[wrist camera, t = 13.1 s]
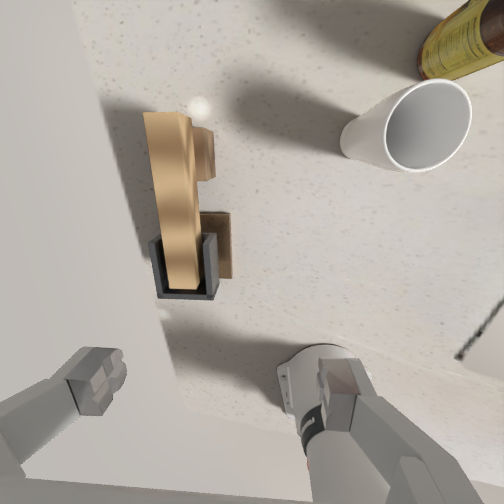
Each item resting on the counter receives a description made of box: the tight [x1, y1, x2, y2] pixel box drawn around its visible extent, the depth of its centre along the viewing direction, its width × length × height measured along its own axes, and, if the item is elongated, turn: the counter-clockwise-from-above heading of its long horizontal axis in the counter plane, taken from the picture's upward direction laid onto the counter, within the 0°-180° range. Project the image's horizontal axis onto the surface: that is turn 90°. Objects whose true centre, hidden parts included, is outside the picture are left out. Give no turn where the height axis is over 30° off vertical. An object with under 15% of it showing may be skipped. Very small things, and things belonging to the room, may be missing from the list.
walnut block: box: [192, 127, 216, 181], centre depth 32 cm, size 6×6×6 cm
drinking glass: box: [340, 78, 472, 172], centre depth 26 cm, size 7×7×15 cm
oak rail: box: [143, 112, 205, 289], centre depth 29 cm, size 20×4×4 cm, turn 0°
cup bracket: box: [148, 213, 232, 300], centre depth 35 cm, size 11×10×10 cm
